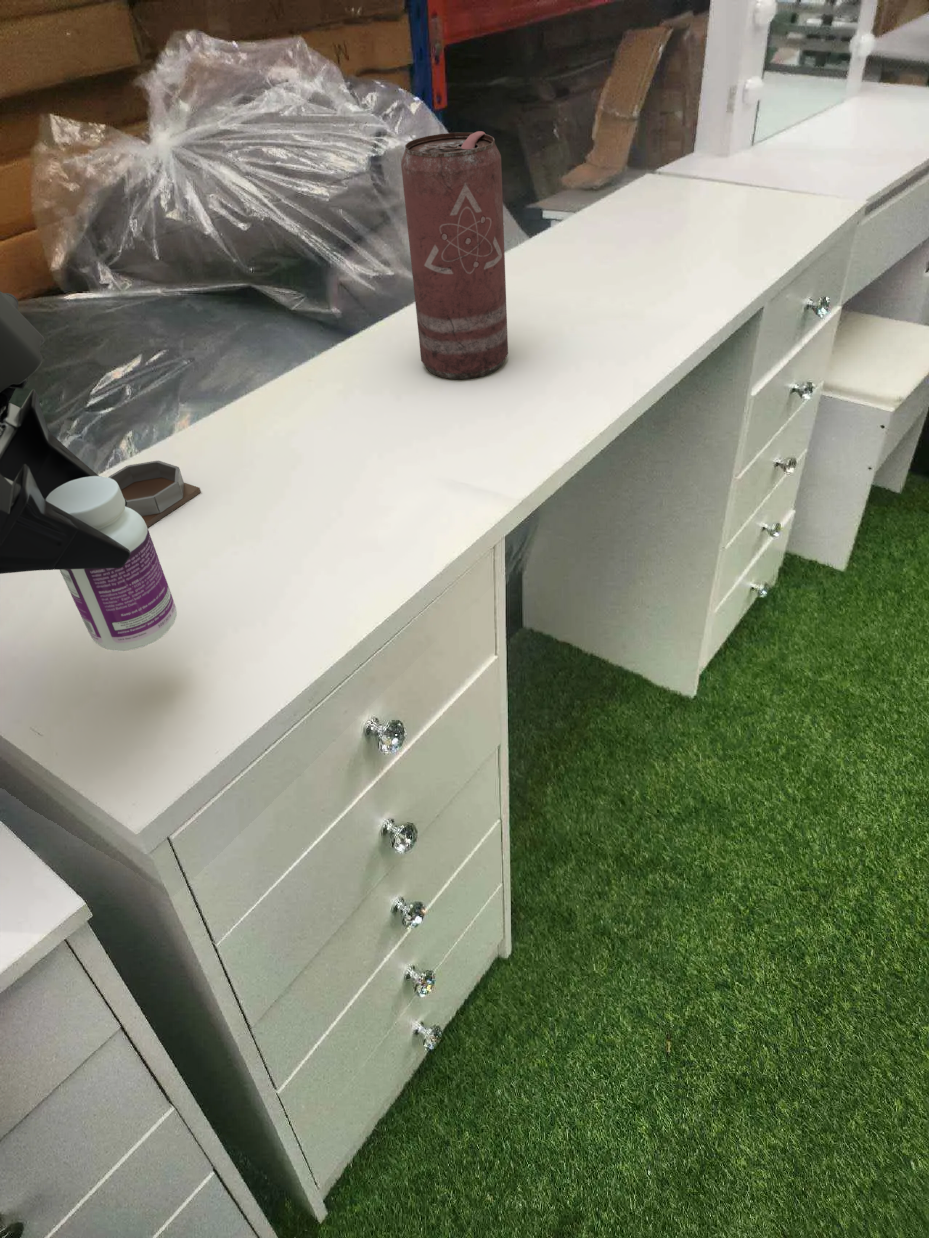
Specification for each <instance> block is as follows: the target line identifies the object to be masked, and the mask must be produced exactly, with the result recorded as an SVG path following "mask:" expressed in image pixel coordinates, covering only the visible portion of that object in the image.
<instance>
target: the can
mask: <svg viewBox="0 0 929 1238" xmlns="http://www.w3.org/2000/svg"><path fill="white" fill-rule="evenodd" d="M404 148H405V149H404V152H403V156H402V158H401V161H400V167H401V176H402V177H401V178H402V187H403V188H402V189H403V196H404V206H405V214H406V216H405V217H406V224H407V225H406V226H407V234H408V244H409V255H410V263H411V273H412V275H411V276H412V281H413V282H412V283H413V293H414V302H415V303H414V304H415V313H416V323H417V332H418V333H417V334H418V340H419V341H418V342H419V352H420V353H419V354H420V361H421V363H422V364H423V365H424V367H425V368H426V369H427V370H428V372H430V374H433V375H434V376H437V377H439V378H442V379H443V378H444V379H448V380H468V379H469V380H470V379H476V378H477V379H478V378H480V377H485V376H487V375H490V374H493V373H495V372H496V371H498V369H500V368H502V365H503V364H504V363H505V360H506V359H507V356H508V354H509V342H508V341H509V340H508V337H509V336H508V313H507V312H508V311H507V285H506V284H507V283H506V256H505V254H506V253H505V231H504V230H505V229H504V226H505V225H504V201H503V200H504V199H503V177H502V176H503V173H502V155H501V152H500V151H499V148H498V146H497V145H496V141H495V138H494V136H491V135H489V134H486V133H485V132H484V131H481V130H477V131H475V132H448V133H439V134H438V133H437V134H431V135H427V136H423V137H419V138H416V139H412V140H410V141H408V142H407V143H406V144H405V146H404Z"/></svg>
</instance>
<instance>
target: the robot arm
mask: <svg viewBox="0 0 929 1238" xmlns="http://www.w3.org/2000/svg"><path fill="white" fill-rule="evenodd" d="M44 343H45V336H44V335H42V334H41V333H40V331H38V330H37V328H35V326H34V325H32V324H31V322H30V321H29V320H28V319H27V318H26V317H25V316H24V315H23V314H22V313H21V312H20V311H19V301H18V298H17V297H16V296H15V295H13V294H12V293H9V292H2V291H1V290H0V575H2V574H13V573H23V572H24V573H25V572H36V571H53V570H54V571H56V570H58V571H60V570H63V569H102V568H121V567H123V566H124V565H125V563H126V562H127V561H128V559H129V558H130V550H129V549H127V548H126V547H124V546H123V545H121V544H120V543H118V542H117V541H115V540H114V539H112V538H110V537H109V536H107V535H105V534H104V533H102V532H100V531H98V530H97V529H95V528H93V527H91V526H90V525H88V524H86V523H84V522H82V521H81V520H79V519H77V518H75V517H74V516H72V515H70V514H68V513H67V512H65V511H63V510H61V509H60V508H58V507H56V506H54V505H53V504H51V503H49V502H47V501H46V498H47V496H48V495H49V494H50V493H51V492H52V491H53V490H54V489H56V488H57V487H59V486H61V485H63V484H65V483H67V482H69V481H72V480H75V479H79V478H83V477H89V476H100V475H99V474H97V473H96V472H95V471H94V470H93V469H91V467H90V466H88V465H87V464H86V463H85V462H83V461H82V460H81V459H80V458H79V457H78V456H77V455H76V454H74V453H73V452H72V451H71V450H70V449H69V448H68V447H67V446H65V445H64V444H63V443H62V442H61V441H60V440H59V439H58V438H57V437H56V436H55V435H54V434H52V432H51V431H50V429H49V427H48V424H47V421H46V417H45V416H44V413H43V409H42V406H41V403H40V396H39V394H38V392H37V391H36V390H35V389H32V390H31V391H30V392H29V393H28V395H27V397H26V398H25V400H24V402H23V403H22V405H21V407H20V406H17V405H15V404H13V403H11V402H10V401H11V399H12V397H13V395H14V392H15V390H16V389H17V390H24V389H25V387H26V385H27V383H28V381H29V378H30V377H31V376H32V375H33V374H35V372H37V370H38V369H39V368H40V367H41V365H42V363H43V355H42V354H41V352H40V351H41V346H42V345H43V344H44ZM124 499H125V498H124ZM126 506H127V500H126V499H125V507H126Z"/></svg>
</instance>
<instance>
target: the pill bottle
mask: <svg viewBox="0 0 929 1238" xmlns="http://www.w3.org/2000/svg"><path fill="white" fill-rule="evenodd" d="M108 477H109V476H103V475H99V476H89V477H83V478H79V479H75V480H72V481H69V482H67V483H65V484H63V485H61V486H59V487H57V488H56V489H54V490H53V491H52V492H51V493H50V494H49V495H48V496H47V498H46V501H47V502H49V503H51V504H53V505H54V506H56V507H58V508H60V509H61V510H63V511H65V512H67V513H68V514H70V515H72V516H74V517H75V518H77V519H79V520H81V521H82V522H84V523H86V524H88V525H90V526H91V527H93V528H95V529H97V530H98V531H100V532H102V533H104V534H105V535H107V536H109V537H110V538H112V539H114V540H115V541H117V542H118V543H120V544H121V545H123V546H124V547H126V548H127V549H129V550H130V558H129V559H128V561H127V562H126V563H125V565H124V566H123V567H121V568H102V569H63V570H59V572H60V573H61V576H62V578H63V580H64V583H65V584H66V587H67V589H68V591H69V593H70V596H71V598H72V600H73V603H74V604H75V607H76V608H77V610H78V612H79V615H80V617H81V620H82V622H83V624H84V626H85V629H86V630H87V632H88V634H89V636H90V638H91V639H92V642H94V643H95V644H96V645H98V646H100V647H101V648H104V649H105V650H109V651H113V652H114V651H115V652H127V651H131V650H136V649H140V648H144V647H147V646H149V645H151V644H153V643H155V642H157V641H158V640H159V639H161V638H162V637H164V636H165V635H166V634H167V633H168V632H169V631H170V630H171V628H172V627H173V625H174V624H175V621H176V619H177V615H178V613H177V612H178V611H177V607H176V604H175V601H174V598H173V595H172V592H171V590H170V587H169V584H168V581H167V578H166V575H165V574H164V570H163V567H162V565H161V562H160V559H159V556H158V553H157V550H156V547H155V545H154V541H153V539H152V536H151V533H150V530H149V527H148V528H147V525H146V523H145V521H144V520H143V518H142V517H141V516H140V515H139V514H138V513H137V512H136V511H134V510H132V509H131V508H128V507H125V499H124V497H123V495H122V492H121V490H120V488H119V485H118V484H117V482H116V481H115V480H113V479H111V478H108Z"/></svg>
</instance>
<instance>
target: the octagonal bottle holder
mask: <svg viewBox="0 0 929 1238" xmlns="http://www.w3.org/2000/svg"><path fill="white" fill-rule="evenodd" d="M107 477H108V478H111V479H113V480H115V481H116V482H117V484H118V485H119V488H120V490H121V492H122V495H123V497H124V498H125V499H126V500H127V506H126V507H128V508H131V509H132V510H134V511H136V512H137V513H138V514H139V515H140V516H141V517H142V518H143V520H144V521H145V523H146V525H147V528H148V529H149V527H151V526H153V525H154V524H155V523H157V522H158V521H160V520H161V519H163V518H165V517H166V516H167V515H168V514H171V513H172V512H173V511H176V509H178V508H180V507H181V506H183V505H184V504H185V503H187V502H189V501H190V500H192V499H193V498H195V497H196V496H198V495H199V494H201V493H202V490H201V488H200V487H199V486H196V485H193V484H190V483H188V482H185V481H184V478H183V476H182V473H181V469H180V467H179V466H177V465H174V464H171V463H168V462H165V461H161V460H153V461H152V460H151V461H146V462H140V463H134V464H127V465H126V466H124V467H123V468H120V469H119V470H118V471H115V472H114V473H113V474H110V475H109V476H107Z"/></svg>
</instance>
